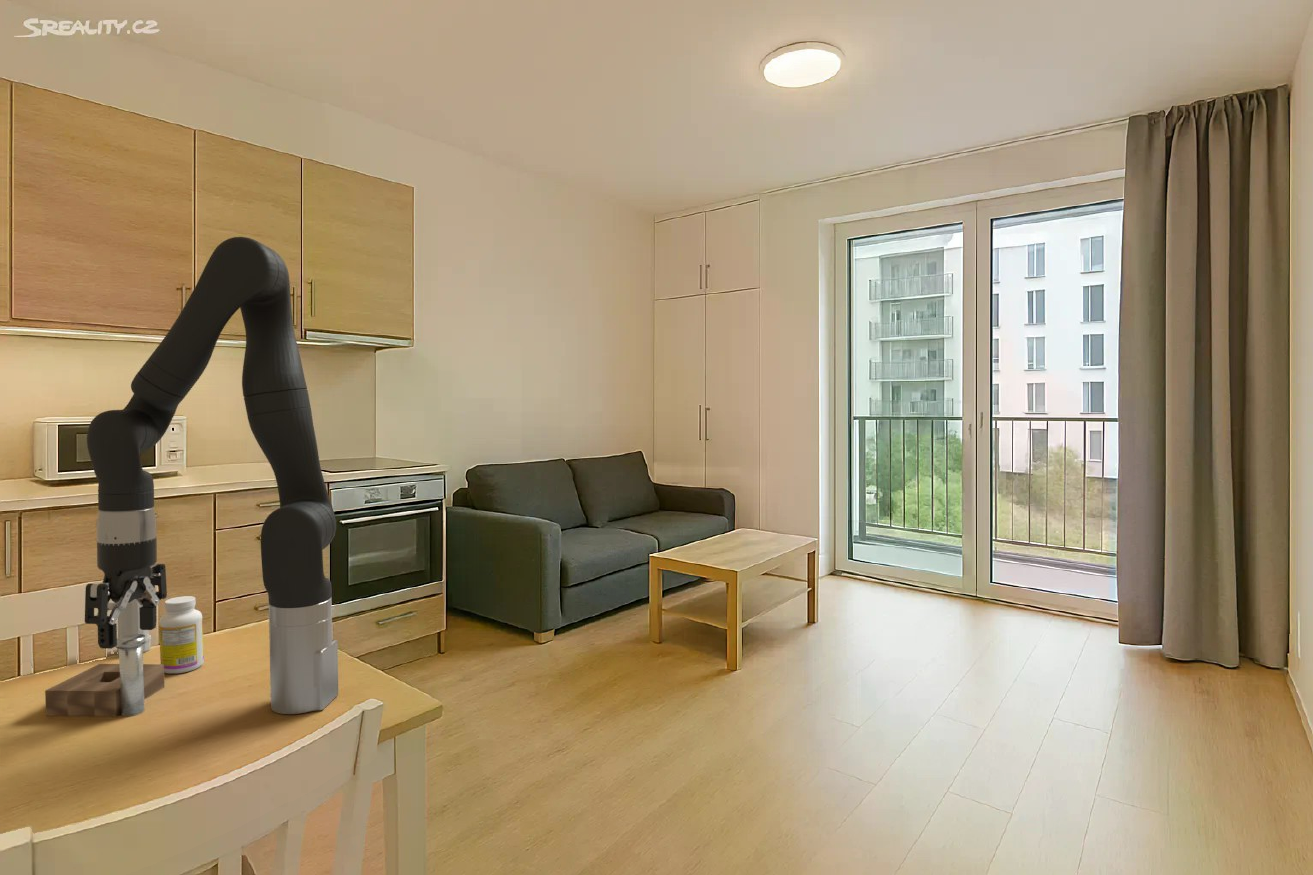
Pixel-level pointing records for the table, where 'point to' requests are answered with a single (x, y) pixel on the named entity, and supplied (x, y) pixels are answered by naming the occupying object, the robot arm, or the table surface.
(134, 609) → the pipe
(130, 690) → the pin
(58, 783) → the table surface
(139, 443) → the robot arm
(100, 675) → the socket block
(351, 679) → the table surface
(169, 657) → the supplement bottle
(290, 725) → the table surface
